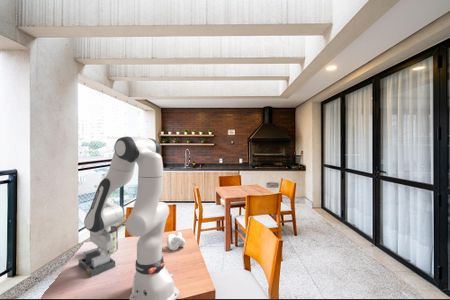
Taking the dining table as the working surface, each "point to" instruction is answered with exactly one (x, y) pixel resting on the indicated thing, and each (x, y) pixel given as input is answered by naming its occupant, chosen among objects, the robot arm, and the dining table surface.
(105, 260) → the grey rectangular block
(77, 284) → the dining table surface
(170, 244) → the white lumpy piece
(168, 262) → the dining table surface
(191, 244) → the dining table surface
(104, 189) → the robot arm
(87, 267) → the rack
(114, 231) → the coffee can
